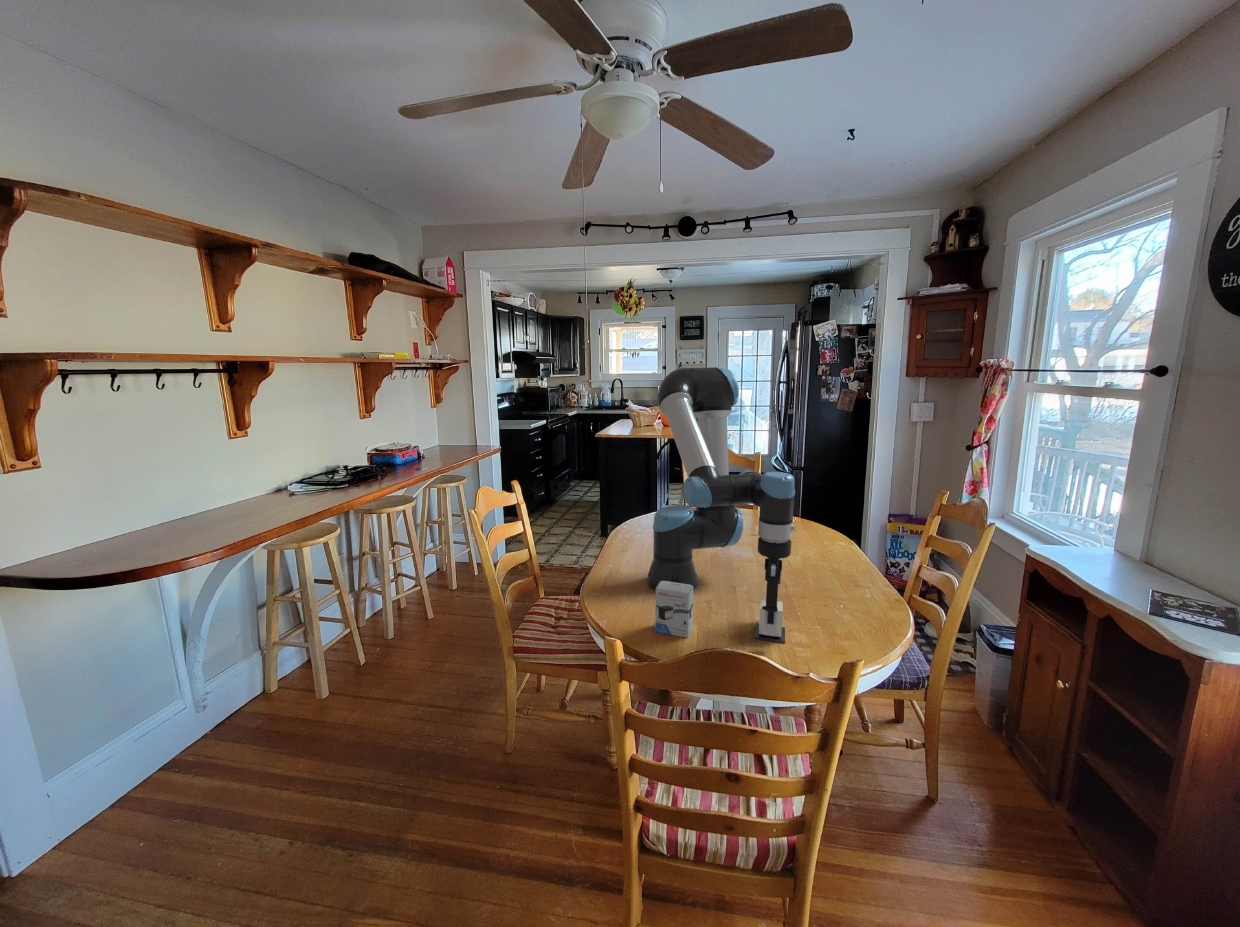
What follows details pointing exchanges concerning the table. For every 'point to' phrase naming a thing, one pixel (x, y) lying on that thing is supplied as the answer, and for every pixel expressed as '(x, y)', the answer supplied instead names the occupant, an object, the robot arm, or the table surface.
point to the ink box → (674, 608)
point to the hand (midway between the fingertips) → (770, 621)
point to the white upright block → (779, 618)
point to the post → (769, 638)
